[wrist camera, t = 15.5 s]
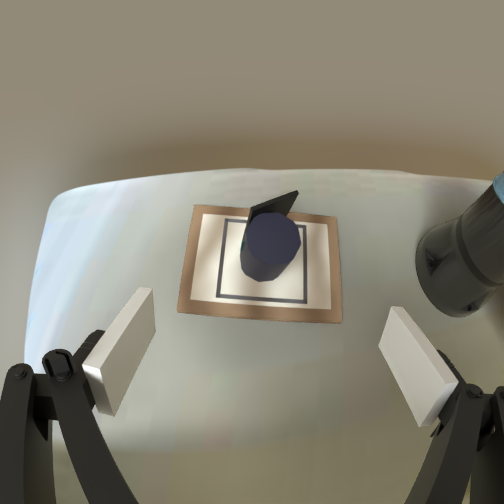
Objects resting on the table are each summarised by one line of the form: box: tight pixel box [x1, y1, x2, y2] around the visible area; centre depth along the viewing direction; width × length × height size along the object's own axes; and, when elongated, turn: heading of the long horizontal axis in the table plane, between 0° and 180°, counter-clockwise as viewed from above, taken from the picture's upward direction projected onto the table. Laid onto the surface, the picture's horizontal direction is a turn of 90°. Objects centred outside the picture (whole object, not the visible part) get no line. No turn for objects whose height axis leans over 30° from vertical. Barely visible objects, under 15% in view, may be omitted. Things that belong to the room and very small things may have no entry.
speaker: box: [240, 190, 301, 282], centre depth 34 cm, size 8×6×10 cm
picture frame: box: [177, 205, 342, 324], centre depth 38 cm, size 20×15×1 cm
